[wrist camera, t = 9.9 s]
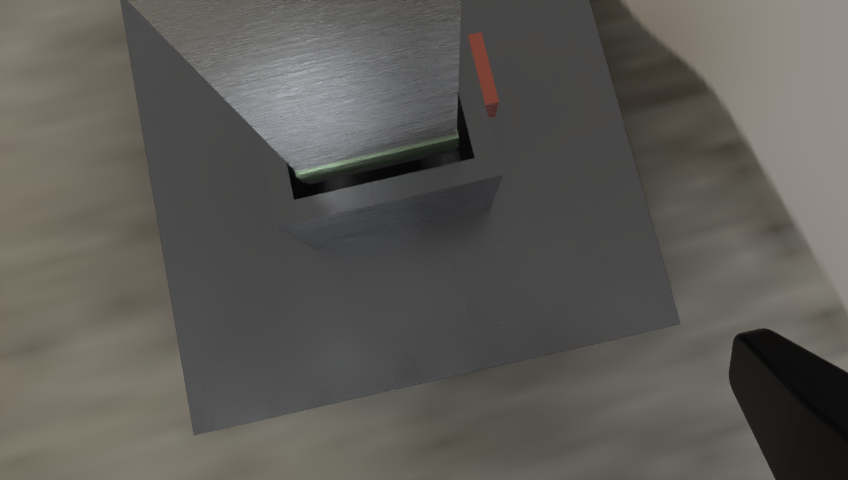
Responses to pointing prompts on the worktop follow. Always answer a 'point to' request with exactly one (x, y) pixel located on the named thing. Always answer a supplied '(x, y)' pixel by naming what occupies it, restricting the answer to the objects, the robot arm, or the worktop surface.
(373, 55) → the column
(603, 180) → the stand
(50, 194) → the worktop surface
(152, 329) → the worktop surface
